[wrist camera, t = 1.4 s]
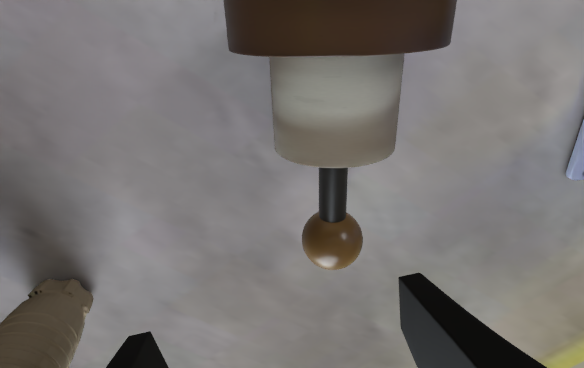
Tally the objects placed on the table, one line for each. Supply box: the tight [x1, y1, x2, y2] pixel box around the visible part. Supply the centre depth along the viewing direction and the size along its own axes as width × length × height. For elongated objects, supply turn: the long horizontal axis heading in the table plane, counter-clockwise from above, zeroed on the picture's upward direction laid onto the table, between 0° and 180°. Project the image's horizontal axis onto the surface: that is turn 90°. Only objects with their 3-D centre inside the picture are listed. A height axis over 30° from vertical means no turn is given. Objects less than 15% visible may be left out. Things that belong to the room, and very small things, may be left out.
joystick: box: [224, 0, 457, 270], centre depth 14 cm, size 11×8×8 cm, turn 2°
